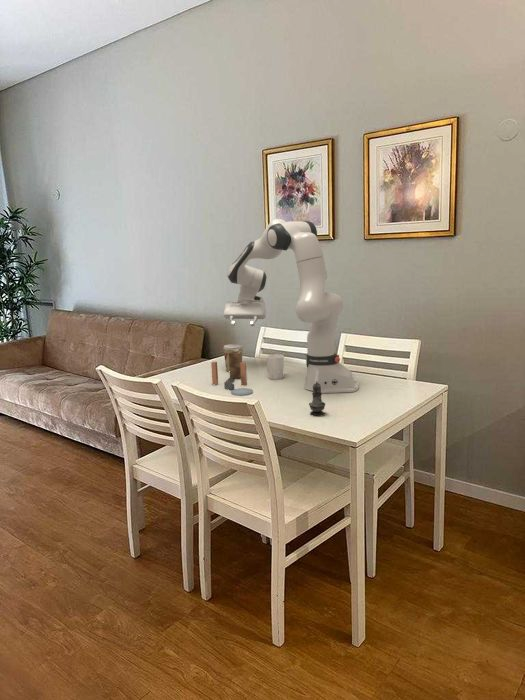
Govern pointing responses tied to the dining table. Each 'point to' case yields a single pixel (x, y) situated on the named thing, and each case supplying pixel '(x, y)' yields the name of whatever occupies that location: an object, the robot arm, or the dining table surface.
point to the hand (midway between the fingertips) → (242, 325)
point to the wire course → (229, 382)
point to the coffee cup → (227, 350)
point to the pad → (242, 391)
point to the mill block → (235, 363)
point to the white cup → (275, 366)
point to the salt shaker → (317, 401)
